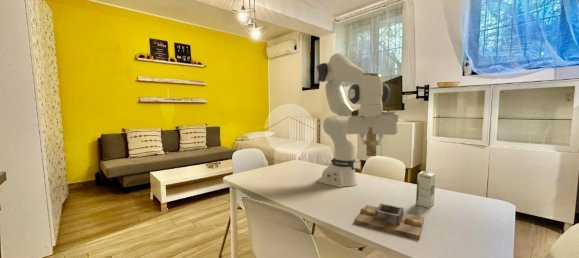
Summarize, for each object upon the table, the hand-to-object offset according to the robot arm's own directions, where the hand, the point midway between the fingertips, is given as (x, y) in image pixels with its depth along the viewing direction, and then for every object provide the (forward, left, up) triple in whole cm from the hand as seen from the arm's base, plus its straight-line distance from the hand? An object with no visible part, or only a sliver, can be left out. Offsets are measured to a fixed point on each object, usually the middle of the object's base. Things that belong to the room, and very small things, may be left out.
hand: (371, 144), depth 103 cm
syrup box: (+19, +17, -28) cm, 38 cm away
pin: (0, 0, -5) cm, 4 cm away
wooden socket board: (+9, -8, -28) cm, 31 cm away
